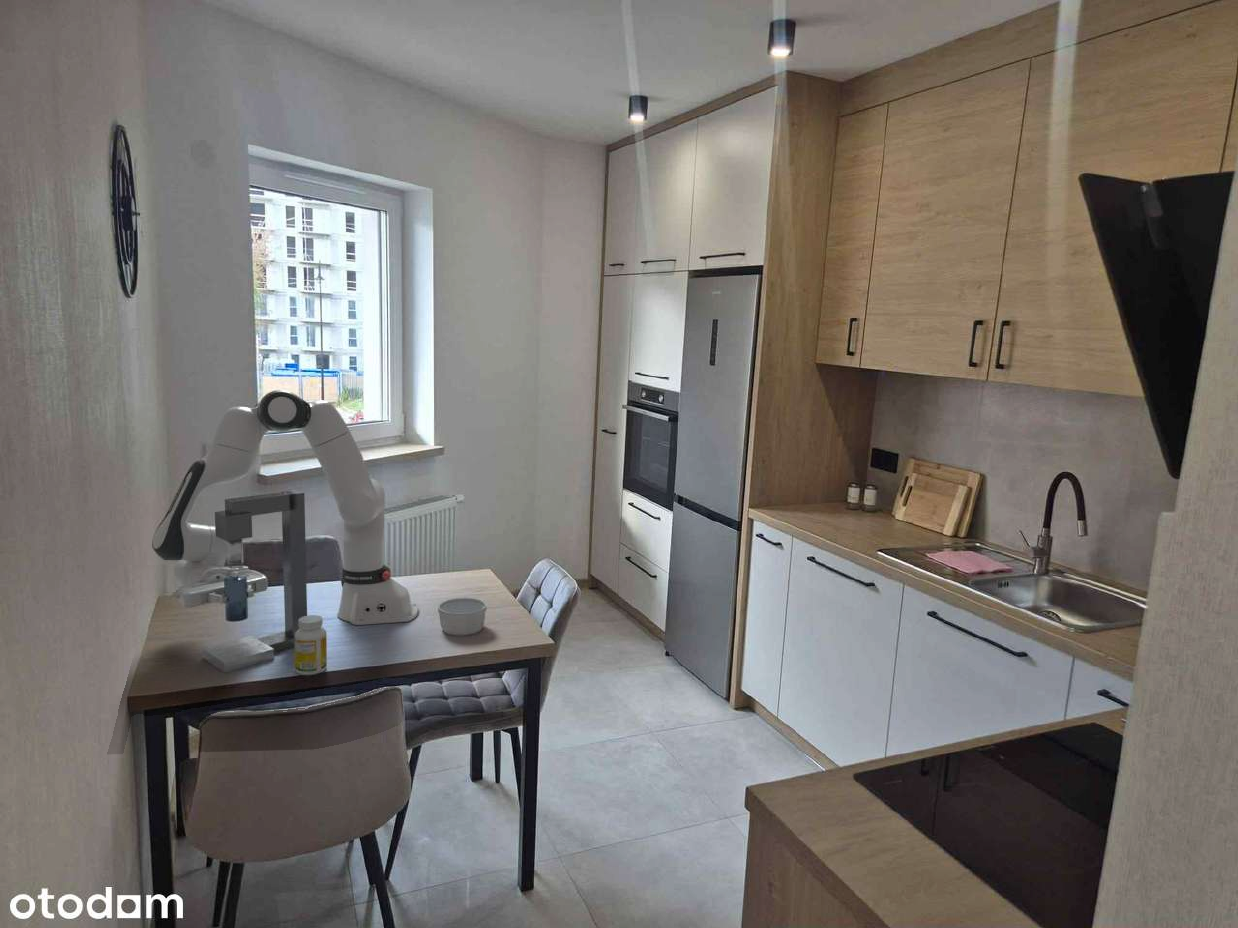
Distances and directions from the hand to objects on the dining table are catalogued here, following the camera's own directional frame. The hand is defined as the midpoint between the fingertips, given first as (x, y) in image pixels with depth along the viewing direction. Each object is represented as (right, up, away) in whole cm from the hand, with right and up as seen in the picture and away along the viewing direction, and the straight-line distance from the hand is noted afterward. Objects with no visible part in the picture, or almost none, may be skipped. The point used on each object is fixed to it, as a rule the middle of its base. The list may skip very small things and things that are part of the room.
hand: (237, 597), depth 190 cm
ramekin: (+49, -14, +28) cm, 58 cm away
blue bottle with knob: (-1, -5, +1) cm, 6 cm away
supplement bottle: (+18, -17, -1) cm, 25 cm away
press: (+2, -15, +7) cm, 17 cm away
